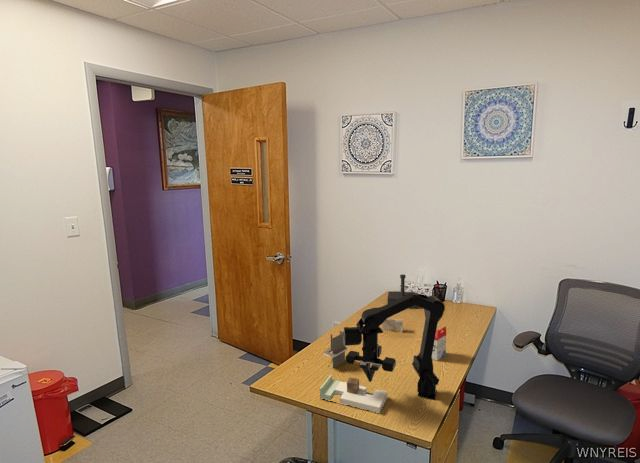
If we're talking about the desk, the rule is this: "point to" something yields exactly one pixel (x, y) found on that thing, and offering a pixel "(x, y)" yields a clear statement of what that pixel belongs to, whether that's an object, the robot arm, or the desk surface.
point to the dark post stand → (396, 294)
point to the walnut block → (353, 385)
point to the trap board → (353, 395)
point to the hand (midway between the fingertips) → (370, 381)
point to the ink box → (439, 344)
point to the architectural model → (336, 350)
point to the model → (393, 324)
